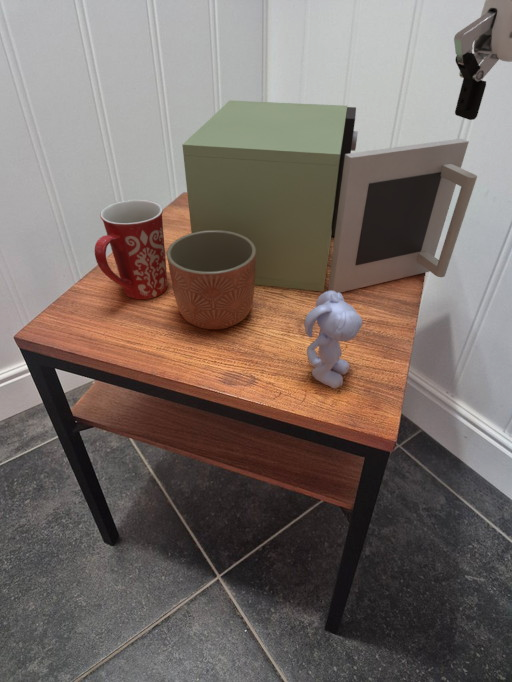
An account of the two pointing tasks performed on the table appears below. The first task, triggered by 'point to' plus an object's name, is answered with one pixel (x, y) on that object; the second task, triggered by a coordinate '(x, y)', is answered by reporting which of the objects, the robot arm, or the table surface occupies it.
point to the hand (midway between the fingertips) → (497, 114)
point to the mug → (134, 247)
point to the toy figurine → (331, 336)
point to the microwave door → (398, 213)
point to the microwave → (272, 183)
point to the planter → (213, 277)
